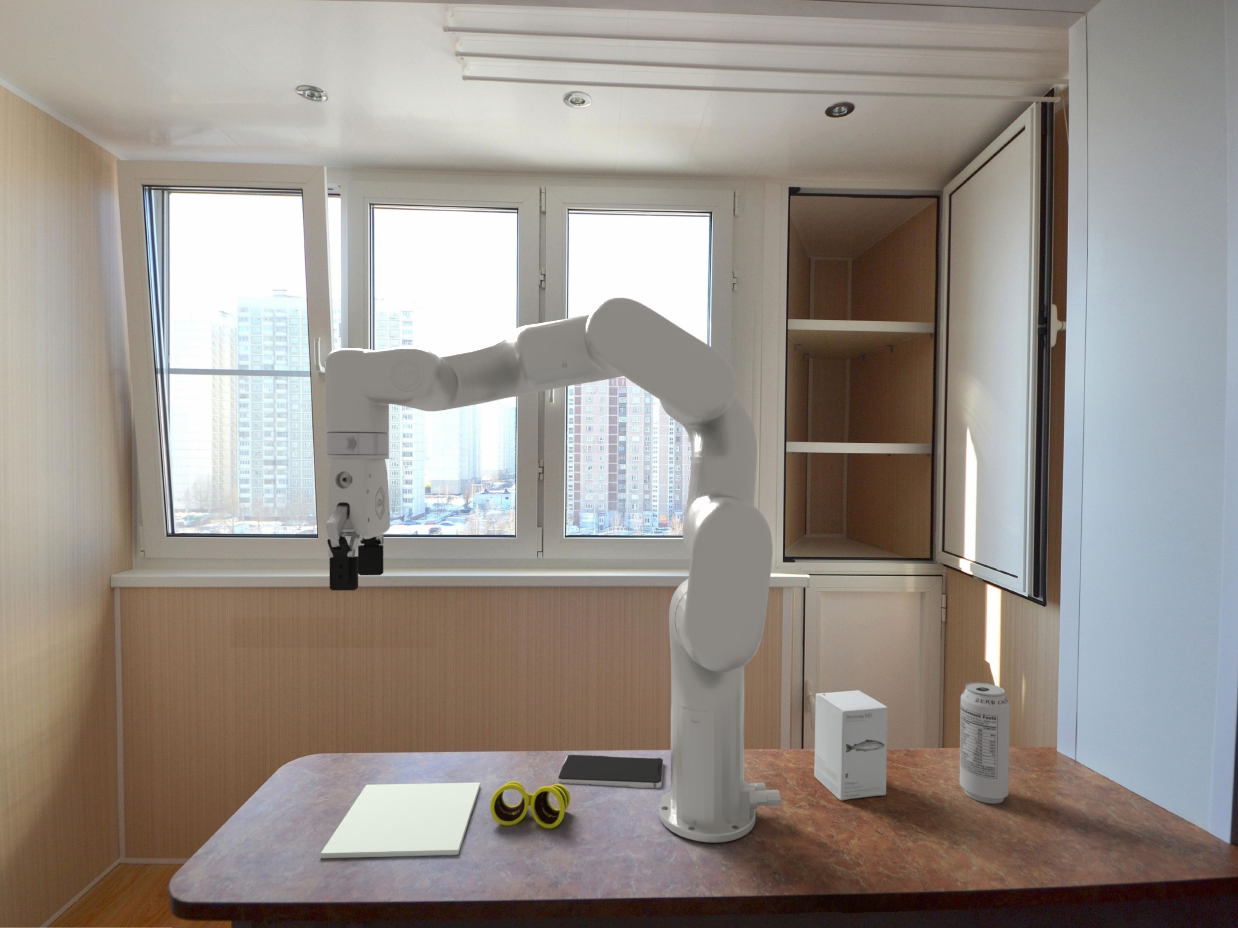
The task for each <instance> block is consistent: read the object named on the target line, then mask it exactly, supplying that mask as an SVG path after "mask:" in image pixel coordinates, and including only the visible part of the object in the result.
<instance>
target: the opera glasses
mask: <svg viewBox="0 0 1238 928" xmlns="http://www.w3.org/2000/svg"><path fill="white" fill-rule="evenodd" d="M508 790H515V791H517V792H518V793H520V794H521V796H522V797H521V799H520V802H519V803H518V804H516V805H508V804H507V803H506V802H505V800H504V792H505V791H508ZM550 793H551V794H553V796H554V797H555V798H556V800H557V801H558V806H559V808H555V807H554V806H552V804H551V803H550V799H549V798H550V797H549V796H550ZM570 804H571V793H570V791H569V789H568V788H567V787H566V786H565V785H563V784H562V783H555V784H552V785H544V786H541V787H539V788H537V790H536V791H535V792H534V793H529V792H527V791H526V790H525V787H524V785H523V784H521V783H520V782H518V781H508V782H507V783H505V784H504V785H502V786H500V787H499V788H498V789H497V790H496V791H494V793H493V795H492V796H491V800H490V807H489V808H490V814H491V816H492V818H493V820H494V821H495V822H496V823H498V824H499V825H502V826H512V825H513V826H515V825H516V824H518V823H519V822H521V821H522V820H524V818H525V816H526V815H527V812H528V810H529V806H530V812H531V814H532V817H533V819H534V821H535V822H536V823H537V824H538V825H539V826H540V827H542V828H545V829H554V828H556V827H557V826H559V825H560V824H561V822H562V821H563V819H564V817H565V812H566V810H568V809H567V808H569V806H570Z"/></svg>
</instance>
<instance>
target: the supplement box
mask: <svg viewBox="0 0 1238 928" xmlns="http://www.w3.org/2000/svg"><path fill="white" fill-rule="evenodd" d="M814 710H815V713H814V714H815V717H814V718H815V719H814V721H815V722H814V726H815V727H814V769H813V770H814V772H813V773H814V774H813V775H814V777H815V779H816V780H817V781H819V783H820V784H822V785H823V786H824V787H825V788H826V789H827V790H828V791H829V792H830V793H832V795H834V796H835V797H836V798H837V799H838V800H840V801H845V800H850V799H859V798H867V797H876V796H886V795H887V768H888V767H887V761H888V759H887V758H888V756H887V755H888V754H887V753H888V752H887V751H888V749H887V748H888V746H887V745H888V710H889V709H888V706H886V705H884V704H883V703H881V702H879V700H876V699H874V698H873V697H871V696H869V695H867V694H866V693H864V692H862V691H861V690H858V689H857V690H856V689H855V690H845V691H834V692H831V691H830V692H820V693H818V692H817V693H815V709H814Z"/></svg>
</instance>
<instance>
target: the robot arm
mask: <svg viewBox="0 0 1238 928" xmlns="http://www.w3.org/2000/svg"><path fill="white" fill-rule="evenodd" d="M324 365H325V367H324V369H325V373H324V374H325V380H324V382H325V384H324V385H325V388H324V389H325V391H324V392H325V395H324V396H325V400H324V401H325V403H324V404H325V406H324V407H325V460H330V463H329V472H328V473H329V474H328V475H329V476H328V486H327V487H328V489H327V510H326V511H327V523H326V532H327V536H328V538H327V544H326V545H328V547H329V548H328V552H327V555H328V558H329V589H330V591H356V590H357V589H358V588H359V576H381V575H383V574H384V539H385V538H384V534H385V533H387V532H388V531H389V530H390V527H391V516H390V515H391V513H390V512H391V510H390V492H389V479H388V469H387V462H386V460H390V405H396V406H400V407H401V406H403V407H407V408H411V409H416V410H420V411H424V412H441V411H446V410H452V409H458V408H464V407H469V406H475V405H481V404H485V403H490V402H494V401H495V402H496V401H498V400H503V399H509V398H515V397H523V396H526V395H529V394H533V393H540V392H545V391H550V390H555V389H559V388H564V387H571V386H576V385H583V384H588V383H594V382H600V381H604V380H612V379H615V378H622V377H624V378H625V379H627V380H628V381H630V382H631V383H633V384H635V385H636V386H638V388H641V389H642V390H644V391H646V392H647V393H649V394H650V395H651V396H653V397H655V398H656V399H658V400H659V401H660V406H661V407H662V409H663V410H664V412H665V413H666V415H668V416H669V417H670V418H672V419H673V420H674V421H676V422H678V423H679V425H682V427H683V428H684V430H685V432H686V433H687V435H688V438H689V442H690V449H691V456H690V457H691V459H690V474H689V475H690V477H689V485H688V493H687V501H686V507H685V508H686V509H685V514H684V519H683V524H682V540H683V542H684V546H685V548H686V550H687V552H688V553H689V554H690V562H689V569H688V578H687V579H685V580H684V581H683V582H681V583H680V584H679V586H678V587H676V590H675V591H674V593H673V595H672V596H671V600H670V605H669V611H668V625H669V626H668V631H669V649H670V672H671V673H670V679H671V680H670V683H671V684H670V685H671V686H670V687H671V688H670V690H671V691H670V695H671V696H670V790H669V791H668V792H665V794H663V796H662V797H661V798H660V799H659V803H658V816H659V819H660V821H661V823H662V824H663V825H664V827H666V828H667V829H668V830H670V831H671V832H672V833H674V834H676V835H678V836H679V837H682V838H684V839H688V840H691V841H695V842H703V843H711V844H712V843H714V844H715V843H727V842H731V841H734V840H735V841H736V840H737V839H740V838H742V837H744V836H746V835H747V834H749V833H750V831H752V830H753V828H754V826H755V824H756V810H757V809H758V807H763V806H764V807H780V806H781V805H782V804H781V803H782V798H781V793H780V790H779V789H767V787H766V784H765V783H766V782H755V783H748V781H746V780H745V779H744V778H745V777H744V775H745V774H744V773H745V772H744V770H745V769H744V768H745V767H744V761H745V760H744V758H745V757H744V756H745V754H744V752H745V749H744V748H745V745H744V743H745V735H744V734H745V668H744V667H745V666H746V665H747V664H748V663H749V662H750V661H752V659H753V658H754V657H755V655H756V653H757V651H758V650H759V648H760V645H761V643H762V639H763V635H764V630H765V624H766V617H767V609H768V600H769V590H770V582H771V574H772V566H773V552H774V551H773V550H774V547H773V537H772V531H771V528H770V526H769V525H770V524H769V522H768V521H767V519H766V518H765V516H764V514H763V513H762V512H761V511H760V510H759V509H758V508H757V507H756V506H754V503H755V494H756V493H755V492H756V482H757V481H756V479H757V475H756V474H757V465H758V464H757V463H758V445H757V444H758V443H757V437H756V431H755V428H754V425H753V422H752V420H751V417H750V415H749V414H748V410H746V407H745V406H744V403H742V401H741V400H740V399H739V397H738V396H737V391H738V379H737V375H736V372H735V369H734V368H733V366H732V364H731V363H730V362H729V360H728V359H727V358H726V357H725V356H724V355H722V354H721V353H720V352H719V351H717V350H716V349H715V348H714V347H711V346H710V345H708V344H707V343H705V342H704V341H702V340H701V339H699V338H697V337H696V336H694V335H692V334H691V333H689V331H686V330H684V329H683V328H681V327H680V326H679V325H677V324H675V323H674V322H672V321H670V319H668V318H666V317H665V316H662V315H661V314H659V313H658V312H657V311H655V310H653V309H651V308H650V307H648V306H646V304H643V303H641V302H639V301H637V300H634V299H631V298H628V297H627V298H626V297H614V298H610V299H607V300H605V301H602V302H601V303H600V304H598V305H597V306H596V307H595V308H594V309H593V310H592V312H590V313H589V314H586V315H582V316H581V315H579V316H575V317H569V318H565V319H564V318H563V319H559V320H554V321H553V320H552V321H546V322H542V323H534V324H528V325H523V326H520V327H517V328H515V329H513V330H512V331H511V332H509V333H508V334H507V335H505V336H504V337H503V338H501V339H499V341H497V342H494V343H493V344H490V345H488V346H484V347H481V348H478V349H473V350H469V351H465V352H458V353H451V354H446V355H440V356H439V355H436V354H435V353H433V352H431V351H429V350H428V349H426V348H423V347H421V346H420V347H419V346H412V345H411V346H410V345H408V346H407V345H406V346H399V347H397V346H396V347H392V348H386V349H385V348H384V349H383V348H382V349H378V350H377V349H375V350H372V349H367V348H366V349H363V348H337V349H334V350H332V351H330V352H329V353H328V354H327V355H326V358H325V364H324ZM359 541H360V544H359ZM348 542H349V543H348ZM358 544H359V545H358ZM356 553H357V556H356Z"/></svg>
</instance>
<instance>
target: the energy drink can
mask: <svg viewBox="0 0 1238 928" xmlns="http://www.w3.org/2000/svg"><path fill="white" fill-rule="evenodd" d="M1005 693H1006V691H1005V689H1004V688H1002V687H1000V686H999V685H998V686H997V685H995V684H991V683H988V682H979V681H978V682H968V683H966V684H965V689H964V690H963V692H962V694H961V695H960V712H959V713H960V716H959V717H960V718H959V719H960V723H959V724H960V726H959V727H960V728H959V730H960V731H959V732H960V734H959V785H960V786H961V788H962V789H963V791H964V794H965V795H967V796H968V797H969V798H971V799H973V800H975V801H978V802H981V803H986V804H1001V803H1003V802H1004V801H1005V798H1006V797H1008V796H1009V794H1010V792H1009V791H1010V789H1009V787H1010V784H1009V783H1010V781H1009V780H1010V776H1009V775H1010V772H1009V771H1010V719H1011V718H1010V713H1011V712H1010V711H1011V709H1010V707H1011V705H1010V701H1009V700H1008V698H1007V697H1006V695H1005Z"/></svg>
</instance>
